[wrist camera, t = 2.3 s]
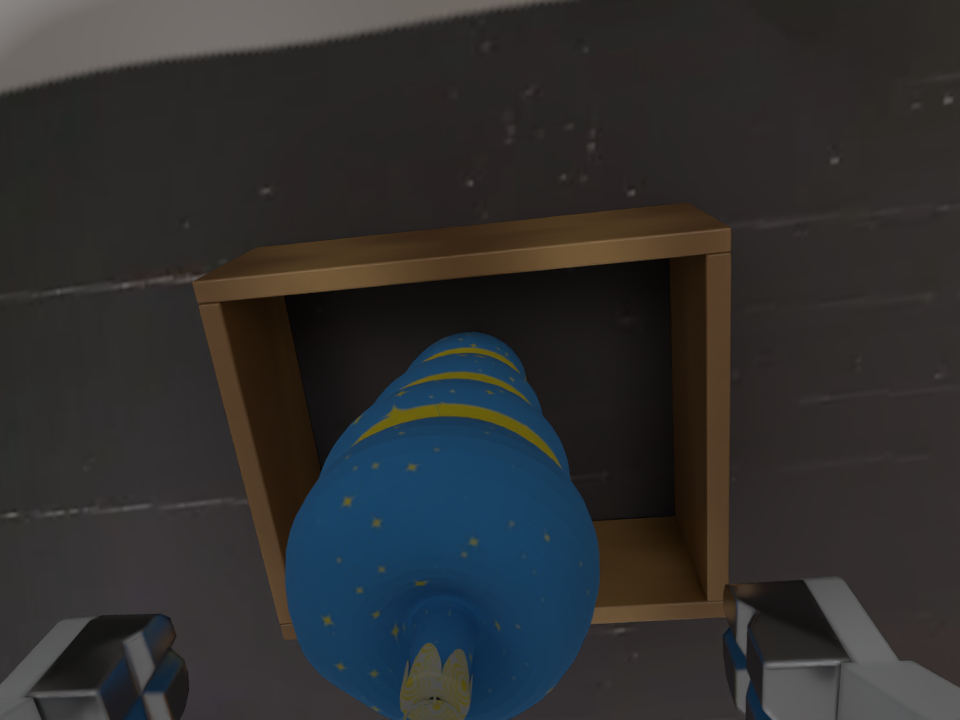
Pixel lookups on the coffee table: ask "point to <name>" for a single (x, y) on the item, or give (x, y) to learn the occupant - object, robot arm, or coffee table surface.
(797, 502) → the coffee table surface
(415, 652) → the ornament
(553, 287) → the coffee table surface
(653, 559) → the wooden box
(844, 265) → the coffee table surface
